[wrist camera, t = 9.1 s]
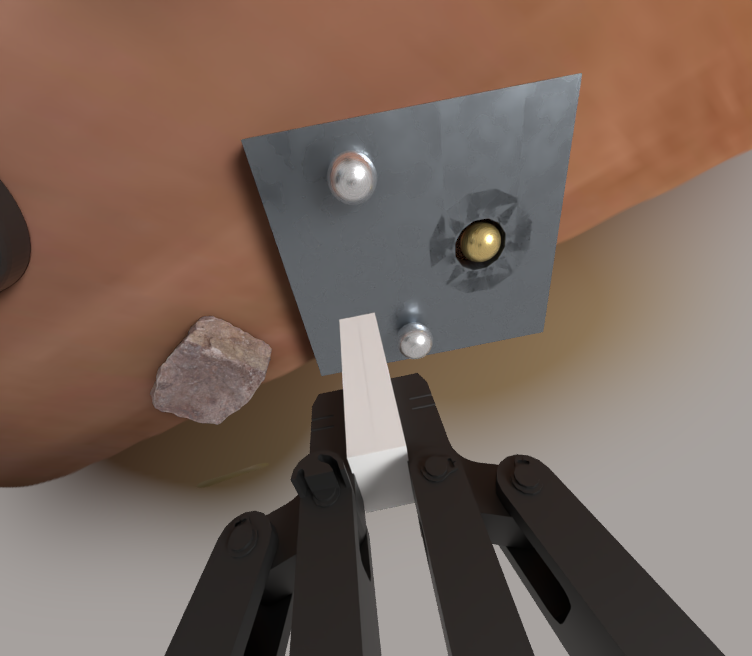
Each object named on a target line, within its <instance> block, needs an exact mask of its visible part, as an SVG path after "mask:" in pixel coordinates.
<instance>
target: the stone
mask: <svg viewBox="0 0 752 656" xmlns="http://www.w3.org/2000/svg"><path fill="white" fill-rule="evenodd" d="M270 355H271V348H270V347H269V345H268V344H266V343H265V342H264V341H262V340H260V339H256V338H254V337H252V336H251V335H250V334H249V333H247V332H243V331H242V330H241V329H240V328H238V327H234V326H232V325H231V323H228V322H226V321H224V320H222V319H218V318H215V317H213V316H209V317H206V316H204V317H201V318H200V319H199V320H198V321H197V322H196V323H195V324H194V325H193V326H192V327H191V328H190V330H189V332H188V335H187V336H186V338H184V340H183V341H182V342H181V343H180V344H179V345H178V346H177V347H176V348H175V350H174V352H173V353H172V354H171V355H169V357H168V358H167V361H166V362H165V363H163V364H162V365H161V366H160V367H159V369H158V372H157V376H156V382H155V383H154V386H153V388H152V390H151V392H150V394H151V397H152V401H153V405H154V407H155V408H156V409H158V410H160V411H161V412H170V413H174V414H175V415H176V416H178V417H183V418H189V419H191V420H194V421H196V422H199V423H214V424H219V423H221V422H222V421H224V420H225V419H226V417H228V416H229V415H230V414H232V413H233V412H235V411H237V410H239V409H240V408H241V406H243V405H245V404H246V403H247V402H248V401H249V400H250V399H251V398H252V396H253V394H254V392H255V391H256V390H257V388H258V387H259V385H260V384H261V382H262V381H264V378H265V375H266V371H267V368H268V365H269V361H270Z"/></svg>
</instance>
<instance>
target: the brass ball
mask: <svg viewBox="0 0 752 656" xmlns="http://www.w3.org/2000/svg"><path fill="white" fill-rule="evenodd" d="M500 245H501V236H500V233H499V231H498V229H497V228H496V227H495V226H494V225H492V224H490V223H487V222H477V223H474V224H472V225H470V226H469V227H467V228H466V229H465V231H464V232H463V234H462V236H461V239H460V248H461V251H462V253H463V254H464V256H465V257H466V258H467V259H469V260H471V261H474V262H484V261H487V260H489V259H491V258H492V257H494V256H495V254H496V253H497V252H498V250H499V248H500Z"/></svg>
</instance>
